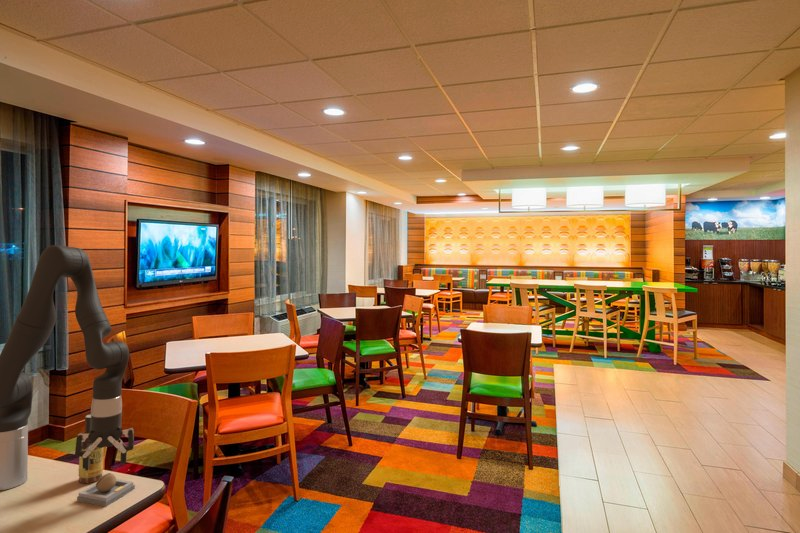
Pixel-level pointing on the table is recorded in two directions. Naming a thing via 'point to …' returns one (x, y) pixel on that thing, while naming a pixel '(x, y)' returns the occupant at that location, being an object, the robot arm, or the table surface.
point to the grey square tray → (105, 493)
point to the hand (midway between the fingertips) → (104, 466)
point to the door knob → (106, 482)
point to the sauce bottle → (91, 459)
